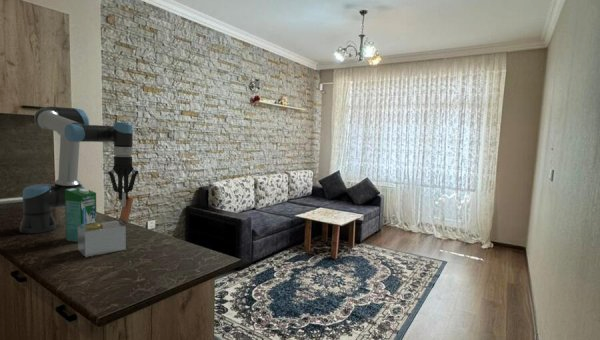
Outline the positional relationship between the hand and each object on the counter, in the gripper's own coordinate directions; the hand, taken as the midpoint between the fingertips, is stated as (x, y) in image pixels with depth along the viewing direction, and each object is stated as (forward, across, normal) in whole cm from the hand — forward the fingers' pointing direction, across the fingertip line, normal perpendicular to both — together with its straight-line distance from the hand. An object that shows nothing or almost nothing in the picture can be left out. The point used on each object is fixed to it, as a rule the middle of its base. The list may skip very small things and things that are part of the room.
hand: (123, 206), depth 155 cm
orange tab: (+2, +2, 0) cm, 3 cm away
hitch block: (+19, -9, 0) cm, 21 cm away
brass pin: (+19, -12, 0) cm, 22 cm away
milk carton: (+19, -12, +22) cm, 32 cm away
